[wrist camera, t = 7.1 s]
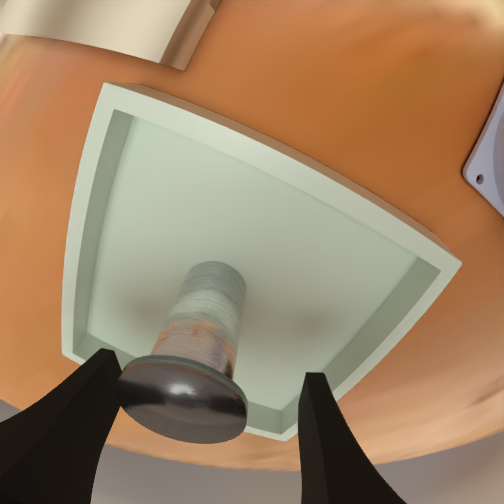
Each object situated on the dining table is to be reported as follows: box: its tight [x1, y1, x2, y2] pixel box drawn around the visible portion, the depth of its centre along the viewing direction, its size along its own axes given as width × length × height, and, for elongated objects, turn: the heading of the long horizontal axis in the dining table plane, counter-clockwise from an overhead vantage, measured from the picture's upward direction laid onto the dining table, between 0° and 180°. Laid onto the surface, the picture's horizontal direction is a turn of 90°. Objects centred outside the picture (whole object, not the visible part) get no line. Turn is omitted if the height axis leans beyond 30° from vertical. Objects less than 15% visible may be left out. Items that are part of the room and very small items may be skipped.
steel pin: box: [115, 261, 248, 444], centre depth 11 cm, size 4×4×7 cm
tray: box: [62, 82, 463, 442], centre depth 14 cm, size 16×16×3 cm
